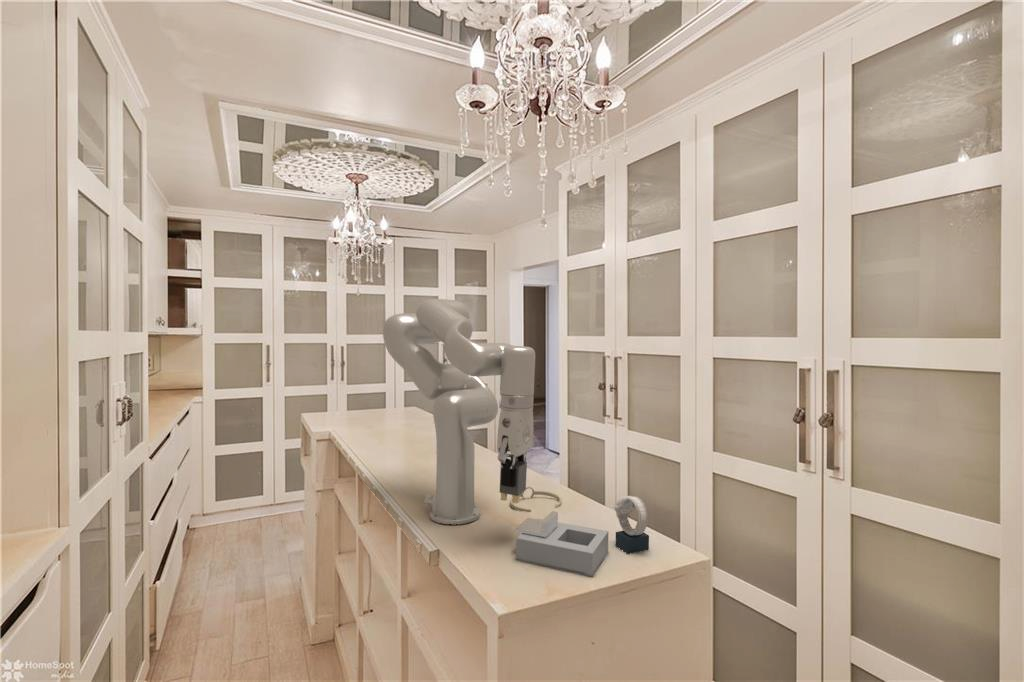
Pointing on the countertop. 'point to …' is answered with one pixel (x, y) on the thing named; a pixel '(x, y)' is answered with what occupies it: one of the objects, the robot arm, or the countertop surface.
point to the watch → (630, 537)
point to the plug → (519, 482)
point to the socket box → (565, 549)
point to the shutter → (539, 525)
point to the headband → (532, 496)
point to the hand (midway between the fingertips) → (513, 481)
